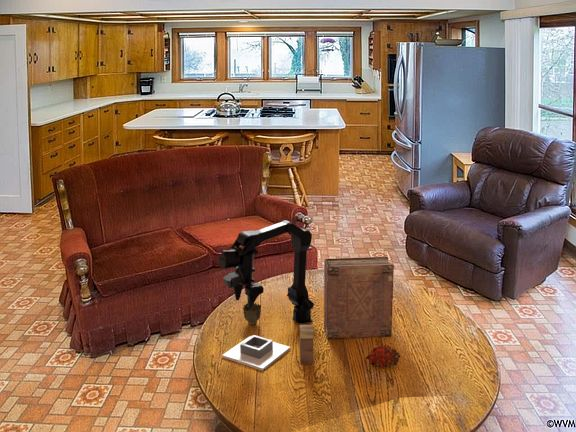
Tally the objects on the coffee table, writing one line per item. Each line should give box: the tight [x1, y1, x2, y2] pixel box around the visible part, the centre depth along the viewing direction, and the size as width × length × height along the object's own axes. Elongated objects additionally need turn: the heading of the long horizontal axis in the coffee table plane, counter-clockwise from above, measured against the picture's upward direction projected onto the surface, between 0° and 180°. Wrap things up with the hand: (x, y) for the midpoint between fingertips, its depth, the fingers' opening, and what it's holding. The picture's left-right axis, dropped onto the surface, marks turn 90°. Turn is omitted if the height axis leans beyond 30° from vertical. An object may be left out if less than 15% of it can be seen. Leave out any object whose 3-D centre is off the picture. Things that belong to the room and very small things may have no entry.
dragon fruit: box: [365, 344, 401, 370], centre depth 207 cm, size 8×8×12 cm
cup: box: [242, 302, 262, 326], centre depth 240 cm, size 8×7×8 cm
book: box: [323, 255, 395, 340], centre depth 229 cm, size 25×9×30 cm, turn 95°
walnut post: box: [299, 324, 314, 365], centre depth 211 cm, size 5×5×13 cm
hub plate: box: [222, 334, 291, 372], centre depth 217 cm, size 18×18×4 cm
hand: (243, 304), depth 226 cm, fingers open, 9 cm apart
